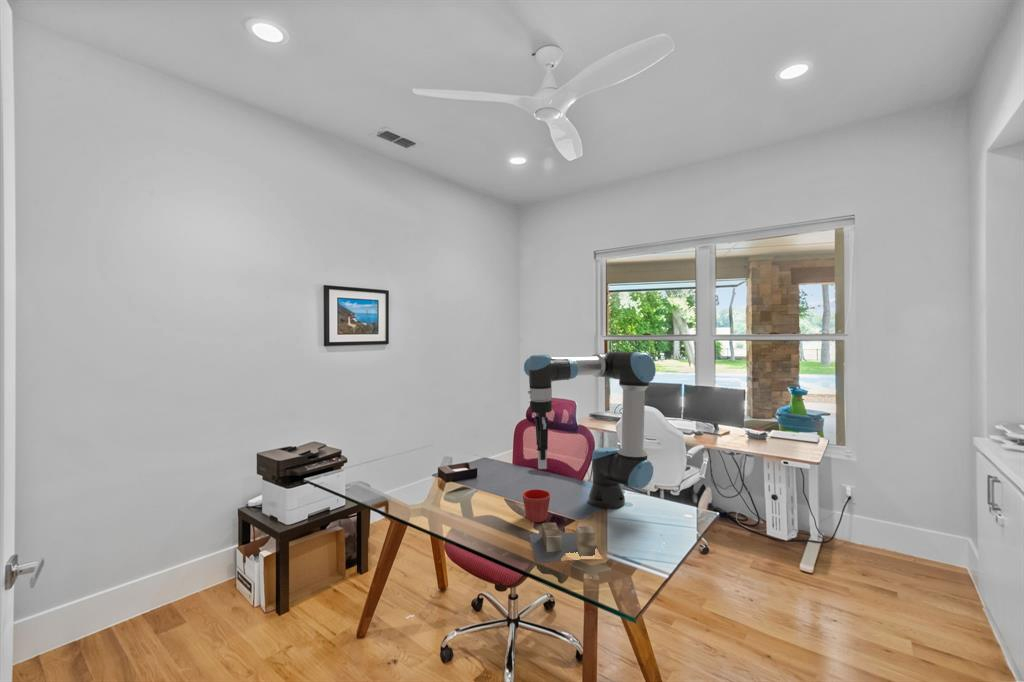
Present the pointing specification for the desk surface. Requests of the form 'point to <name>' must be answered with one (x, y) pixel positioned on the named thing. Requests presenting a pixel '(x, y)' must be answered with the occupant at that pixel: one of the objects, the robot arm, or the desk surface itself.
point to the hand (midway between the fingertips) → (542, 468)
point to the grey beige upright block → (585, 541)
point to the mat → (545, 556)
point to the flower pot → (536, 504)
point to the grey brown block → (551, 537)
